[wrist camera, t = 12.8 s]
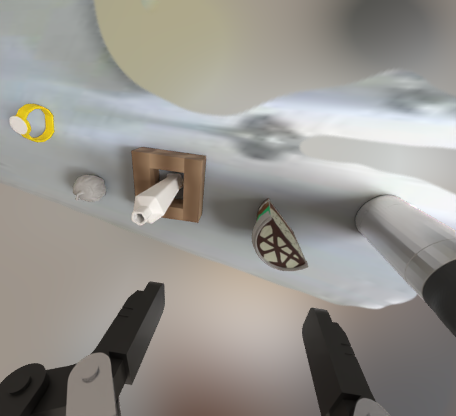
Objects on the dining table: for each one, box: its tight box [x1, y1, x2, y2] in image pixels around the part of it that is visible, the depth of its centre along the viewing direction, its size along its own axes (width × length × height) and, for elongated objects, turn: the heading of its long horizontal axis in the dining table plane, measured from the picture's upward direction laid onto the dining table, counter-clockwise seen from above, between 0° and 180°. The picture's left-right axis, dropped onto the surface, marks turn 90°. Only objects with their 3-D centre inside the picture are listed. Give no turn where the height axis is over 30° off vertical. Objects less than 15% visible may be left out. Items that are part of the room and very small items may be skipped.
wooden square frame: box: [131, 147, 206, 223], centre depth 38 cm, size 12×12×4 cm
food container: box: [252, 198, 308, 271], centre depth 38 cm, size 12×6×10 cm, turn 38°
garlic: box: [73, 175, 106, 202], centre depth 40 cm, size 6×5×5 cm
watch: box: [9, 104, 55, 142], centre depth 35 cm, size 6×3×6 cm, turn 162°
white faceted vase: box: [131, 173, 184, 226], centre depth 33 cm, size 5×4×15 cm
